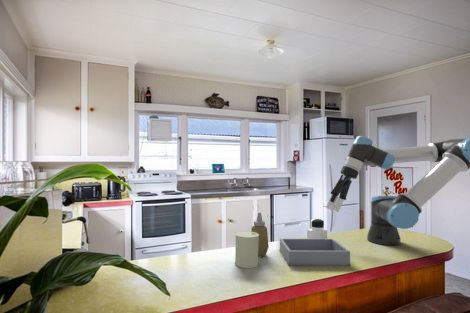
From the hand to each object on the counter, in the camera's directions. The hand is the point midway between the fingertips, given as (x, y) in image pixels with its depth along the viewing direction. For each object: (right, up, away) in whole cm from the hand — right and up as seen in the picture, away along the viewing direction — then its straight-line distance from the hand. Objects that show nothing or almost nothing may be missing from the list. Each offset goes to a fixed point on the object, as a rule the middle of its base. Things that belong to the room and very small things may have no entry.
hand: (332, 210), depth 138 cm
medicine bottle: (-6, -18, +5) cm, 19 cm away
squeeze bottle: (-35, -17, -12) cm, 41 cm away
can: (-41, -17, -22) cm, 50 cm away
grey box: (-13, -17, -14) cm, 26 cm away
